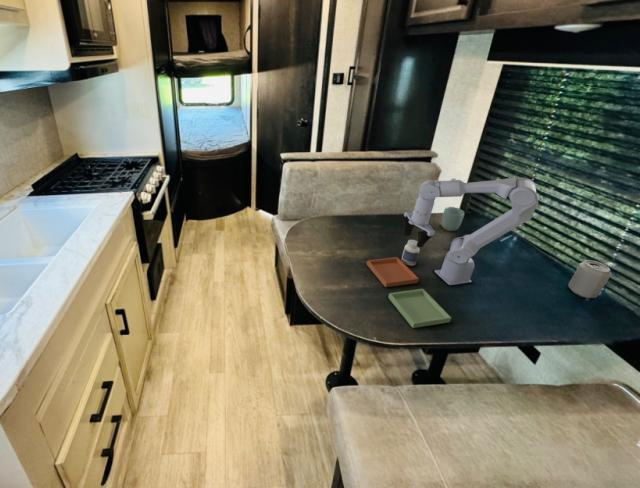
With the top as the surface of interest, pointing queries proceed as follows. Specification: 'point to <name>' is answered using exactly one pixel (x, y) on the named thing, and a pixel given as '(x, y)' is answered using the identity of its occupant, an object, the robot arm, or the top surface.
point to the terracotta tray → (392, 272)
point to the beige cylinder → (589, 279)
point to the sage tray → (419, 308)
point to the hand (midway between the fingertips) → (413, 240)
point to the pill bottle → (410, 253)
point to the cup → (452, 218)
